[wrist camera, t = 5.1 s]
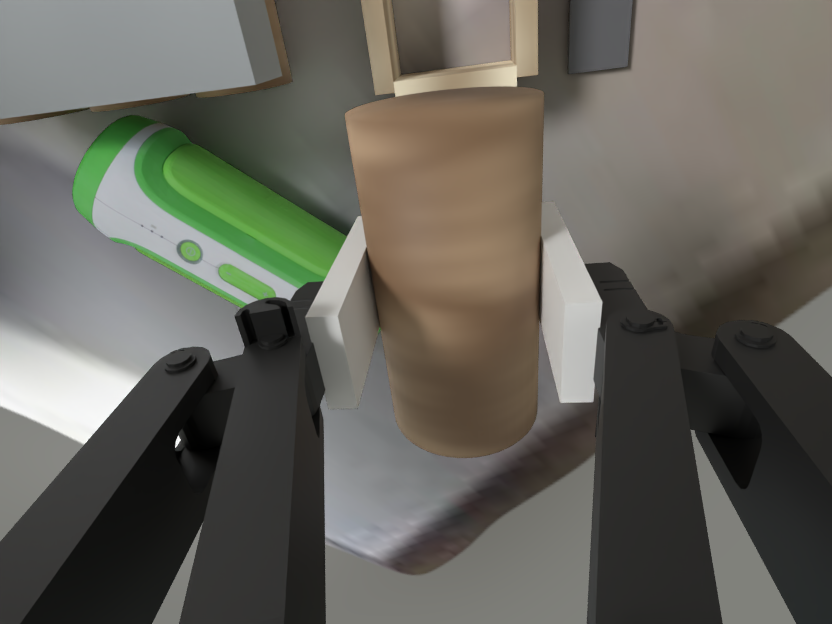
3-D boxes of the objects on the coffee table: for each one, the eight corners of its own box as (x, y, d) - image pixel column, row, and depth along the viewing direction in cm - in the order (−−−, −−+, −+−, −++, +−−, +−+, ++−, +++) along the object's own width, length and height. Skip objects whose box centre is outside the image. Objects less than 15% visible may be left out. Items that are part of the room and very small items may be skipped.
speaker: (131, 195, 33) (49, 239, 26) (164, 96, 29) (80, 118, 23) (360, 327, 37) (338, 393, 30) (413, 252, 33) (401, 309, 27)
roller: (399, 366, 20) (389, 461, 16) (358, 99, 15) (327, 131, 11) (525, 358, 20) (550, 454, 15) (527, 80, 15) (565, 107, 10)
